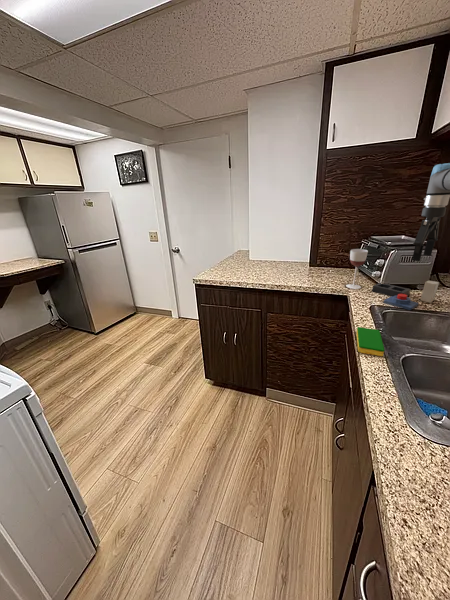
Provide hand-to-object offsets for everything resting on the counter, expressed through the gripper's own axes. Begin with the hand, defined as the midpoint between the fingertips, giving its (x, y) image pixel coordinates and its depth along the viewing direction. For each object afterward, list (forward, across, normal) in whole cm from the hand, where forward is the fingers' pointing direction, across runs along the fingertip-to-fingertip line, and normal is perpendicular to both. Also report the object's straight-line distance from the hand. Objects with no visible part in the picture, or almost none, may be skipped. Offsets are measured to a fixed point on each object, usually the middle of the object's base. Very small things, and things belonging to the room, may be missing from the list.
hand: (421, 257), depth 109 cm
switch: (+18, +8, -1) cm, 19 cm away
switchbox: (+20, +8, -2) cm, 22 cm away
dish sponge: (+21, +51, +5) cm, 55 cm away
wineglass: (+20, 0, -27) cm, 34 cm away
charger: (+20, -5, +5) cm, 21 cm away
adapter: (+20, -3, -10) cm, 23 cm away
